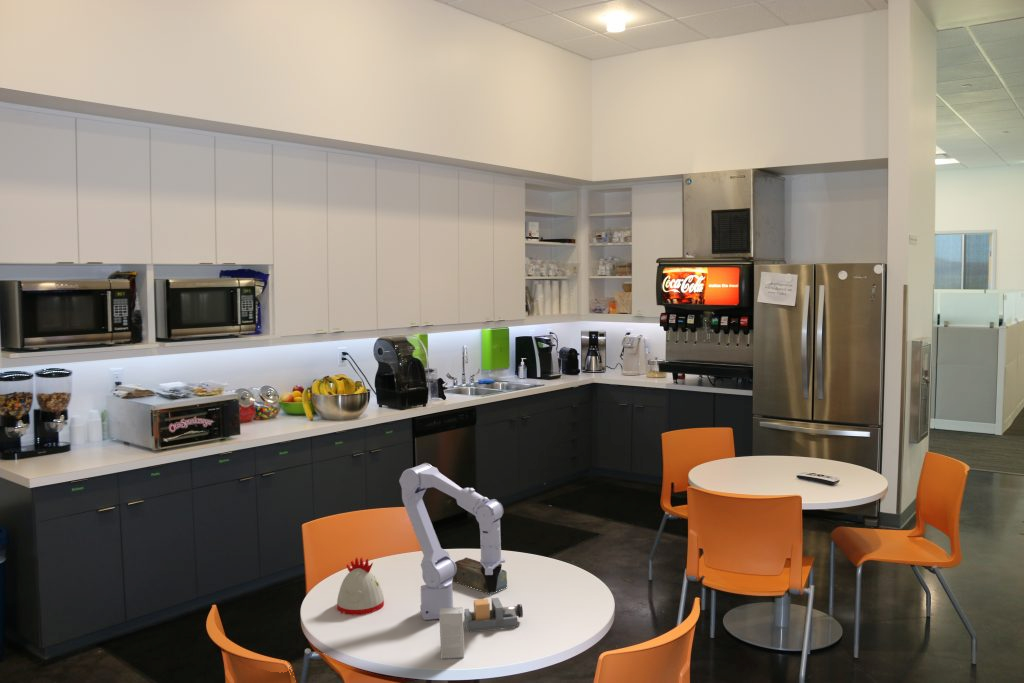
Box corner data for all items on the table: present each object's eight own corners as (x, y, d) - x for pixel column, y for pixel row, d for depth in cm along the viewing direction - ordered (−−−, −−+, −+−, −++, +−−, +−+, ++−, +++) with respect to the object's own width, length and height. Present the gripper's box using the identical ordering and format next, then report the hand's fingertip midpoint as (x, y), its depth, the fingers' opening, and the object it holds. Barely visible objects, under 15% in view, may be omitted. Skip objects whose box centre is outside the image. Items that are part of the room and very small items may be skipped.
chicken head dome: (373, 616, 247) (372, 566, 246) (330, 613, 250) (328, 564, 248) (390, 598, 260) (388, 551, 259) (348, 596, 263) (346, 549, 262)
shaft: (498, 621, 238) (498, 609, 238) (496, 616, 241) (496, 604, 241) (522, 619, 239) (522, 606, 239) (520, 614, 243) (520, 602, 242)
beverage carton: (490, 596, 261) (489, 575, 261) (449, 581, 275) (448, 561, 274) (508, 588, 267) (507, 568, 266) (467, 575, 280) (466, 555, 280)
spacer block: (476, 626, 236) (475, 605, 236) (474, 620, 240) (473, 600, 240) (490, 624, 237) (489, 604, 237) (488, 619, 241) (487, 598, 241)
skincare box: (464, 650, 222) (463, 606, 222) (464, 658, 218) (462, 613, 217) (441, 651, 222) (439, 607, 221) (440, 659, 218) (439, 614, 217)
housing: (468, 632, 234) (467, 611, 234) (464, 620, 242) (463, 600, 241) (517, 627, 237) (517, 606, 236) (512, 616, 245) (511, 595, 244)
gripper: (502, 552, 230) (504, 600, 231) (506, 536, 245) (508, 582, 245) (477, 552, 231) (478, 600, 232) (482, 536, 245) (484, 582, 246)
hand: (492, 591), depth 239 cm, fingers closed
